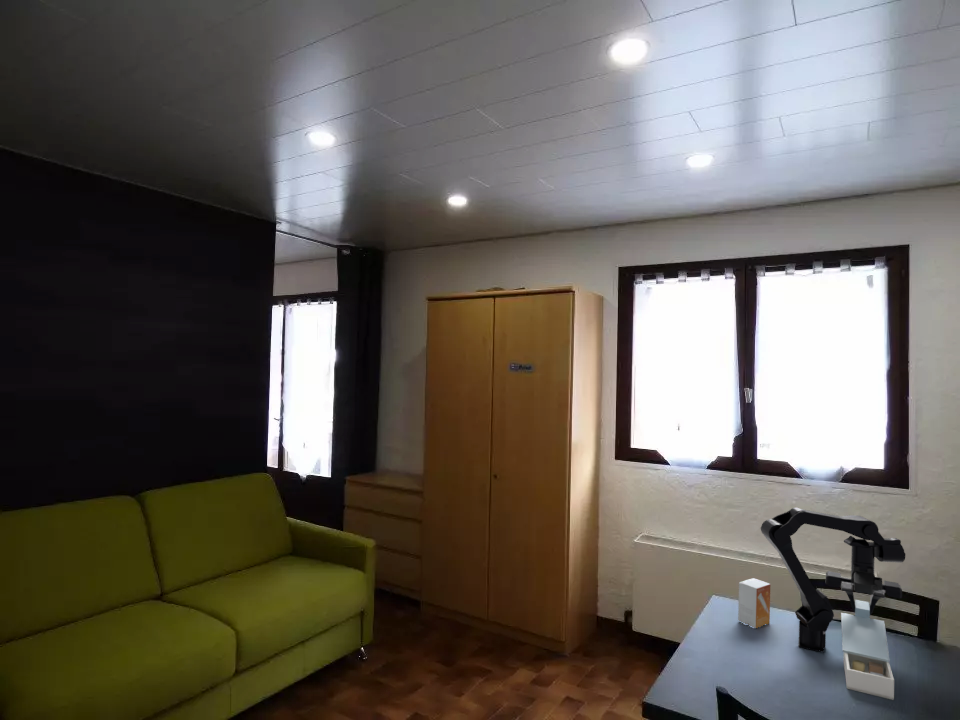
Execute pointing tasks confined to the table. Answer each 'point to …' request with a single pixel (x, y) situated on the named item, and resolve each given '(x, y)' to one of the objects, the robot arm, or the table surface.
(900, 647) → the table surface
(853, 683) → the tub
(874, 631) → the lid
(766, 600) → the small box
